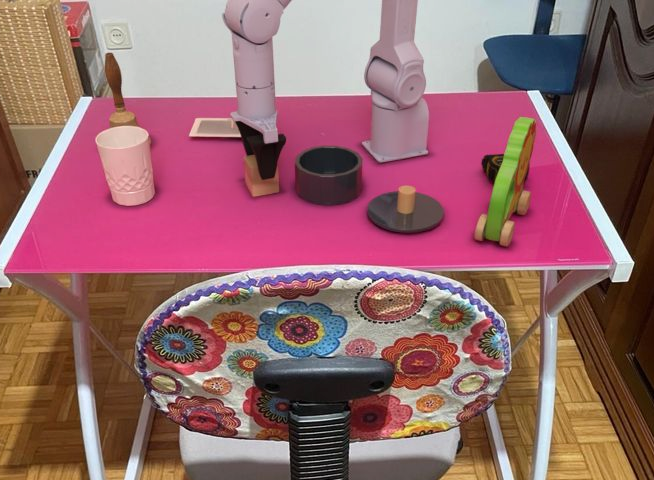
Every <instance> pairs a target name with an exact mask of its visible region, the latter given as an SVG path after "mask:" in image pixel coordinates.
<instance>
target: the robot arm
mask: <svg viewBox="0 0 654 480" xmlns="http://www.w3.org/2000/svg"><path fill="white" fill-rule="evenodd" d="M292 1H293V0H227V1H226V4H225V8H224V12H223V13H222V14H221V16H222V21H223V23H224V25H225V26H226V27H227V29H228V30H229V31H230V33H231V42H232V56H233V57H232V58H233V67H234V80H235V92H236V93H235V94H236V104H237V108H236V111H231V112H230V113H229V114H230V118H231V119H232V120H233V121H235V123H236V125H237V127H238V129H239V132H240V134H241V137H240V138H241V141H242V144H243V148H244V151H245V154H246V156H249V155H255V158H256V162H257V166H258V171H259V174H260V177H261V179H262V180H266V179H271V178H274V177H275V173H276V169H277V163H278V164H279V159H280V156H281V153H282V150H283V149H284V147H285V145H286V143H287V136H286V135H285V134H284V133H279V130H278V127H277V124H278V109H277V104H276V81H275V63H274V61H275V60H274V43H273V37H274V36H276V35H277V34H278V32H279V29H280V25H281V19H282V15H283V14H284V11H285V9H286V8H287V7H288V6H289V4H290V3H291V2H292ZM418 3H419V0H381V11H380V25H379V39H378V41H377V42H375V43H374V44H373V45H372V46H371V47H370V48H369V58H368V62H367V64H366V66H365V68H364V73H363V79H364V83H365V85H366V87H367V88H368V89H370V97H371V113H370V114H371V115H370V117H371V118H370V119H371V120H370V139H369V140H364V141H362V142H361V146H362V147H363V148H364V149H365V150H366V151H367V152H368V153H369V154H370V155H371V156H372V158H374V160H375V161H376V162H377V163H379V164H382V163H387V162H392V161H398V160H405V159H410V158H417V157H420V156H426V155H428V154H429V151H428V150H427V146H428V145H427V144H428V137H429V135H428V134H429V124H430V111H429V106H428V103H427V101H426V99H425V98H424V97H423V96H424V93H425V91H426V88H427V78H426V75H425V72H424V63H425V62H424V61H425V60H424V57H423V56H422V54H421V52H420V50H419V49H418V46H417V45H416V43H415V34H416V23H417V14H418Z"/></svg>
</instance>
